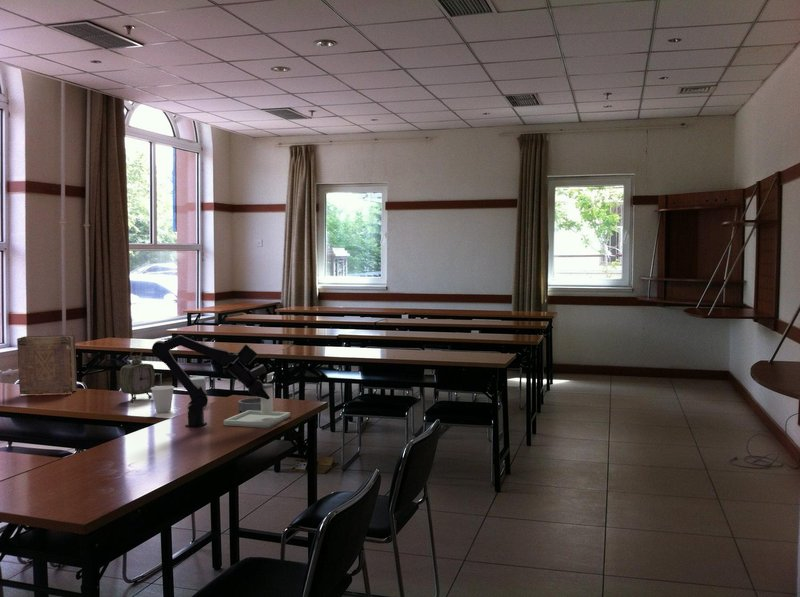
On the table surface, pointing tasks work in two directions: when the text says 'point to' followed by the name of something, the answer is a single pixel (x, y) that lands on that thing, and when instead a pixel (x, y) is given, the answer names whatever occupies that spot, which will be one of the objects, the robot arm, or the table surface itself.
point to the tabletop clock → (137, 377)
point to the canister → (267, 400)
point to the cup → (162, 398)
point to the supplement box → (199, 382)
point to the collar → (250, 404)
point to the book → (47, 364)
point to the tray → (256, 419)
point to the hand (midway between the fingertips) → (268, 397)
